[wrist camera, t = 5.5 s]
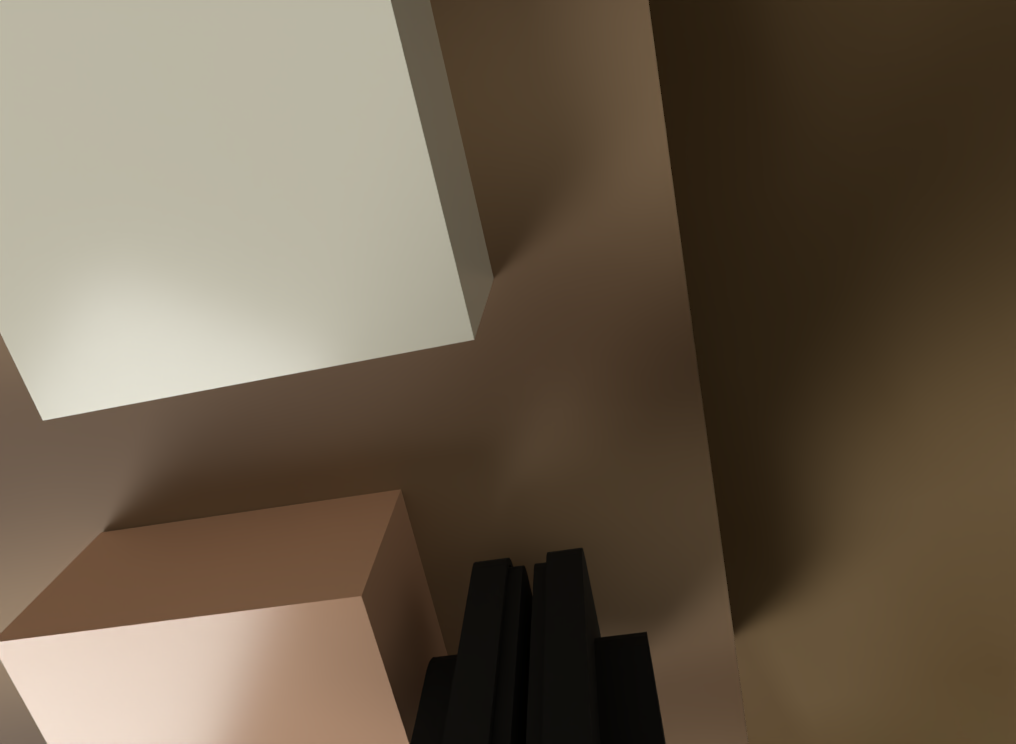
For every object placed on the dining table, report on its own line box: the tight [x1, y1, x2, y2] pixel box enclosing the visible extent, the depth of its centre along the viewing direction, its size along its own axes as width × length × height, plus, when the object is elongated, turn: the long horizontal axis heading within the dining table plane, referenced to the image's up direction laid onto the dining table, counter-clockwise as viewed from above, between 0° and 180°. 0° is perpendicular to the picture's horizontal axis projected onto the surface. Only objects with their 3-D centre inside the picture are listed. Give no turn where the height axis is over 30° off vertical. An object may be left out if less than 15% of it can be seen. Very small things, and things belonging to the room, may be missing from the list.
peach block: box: [0, 489, 448, 744], centre depth 11 cm, size 5×5×2 cm
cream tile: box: [0, 0, 494, 421], centre depth 8 cm, size 5×5×2 cm
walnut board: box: [0, 0, 749, 744], centre depth 12 cm, size 16×14×3 cm
